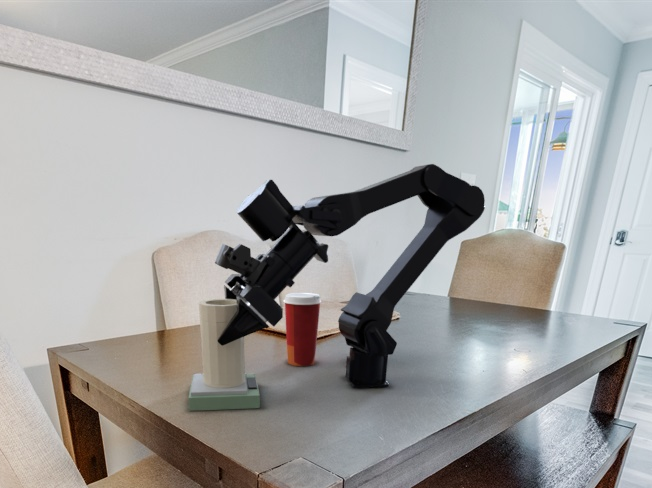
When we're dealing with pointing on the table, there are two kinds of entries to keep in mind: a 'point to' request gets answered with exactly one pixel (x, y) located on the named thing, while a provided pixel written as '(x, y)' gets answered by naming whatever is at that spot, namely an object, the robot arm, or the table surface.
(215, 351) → the canister
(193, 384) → the scale
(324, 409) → the table surface
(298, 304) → the paper cup
